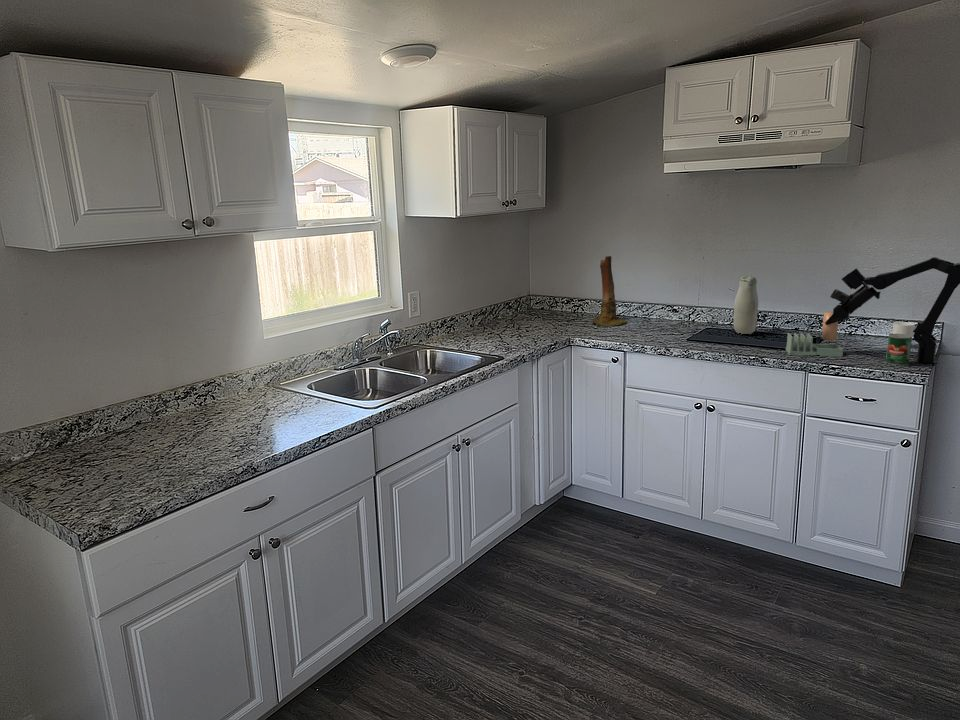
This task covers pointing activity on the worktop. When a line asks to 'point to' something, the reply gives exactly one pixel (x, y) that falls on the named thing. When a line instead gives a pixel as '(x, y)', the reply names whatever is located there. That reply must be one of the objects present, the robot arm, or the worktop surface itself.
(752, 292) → the glass bottle
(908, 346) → the canned tomato
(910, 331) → the white cup
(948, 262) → the robot arm
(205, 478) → the worktop surface
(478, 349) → the worktop surface
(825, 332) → the orange rounded blob
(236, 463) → the worktop surface
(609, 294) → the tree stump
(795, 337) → the dish rack
